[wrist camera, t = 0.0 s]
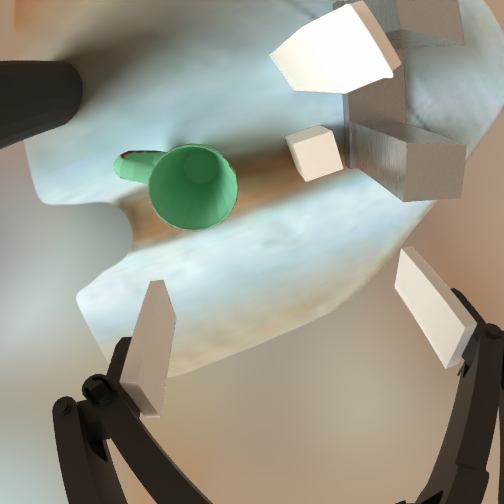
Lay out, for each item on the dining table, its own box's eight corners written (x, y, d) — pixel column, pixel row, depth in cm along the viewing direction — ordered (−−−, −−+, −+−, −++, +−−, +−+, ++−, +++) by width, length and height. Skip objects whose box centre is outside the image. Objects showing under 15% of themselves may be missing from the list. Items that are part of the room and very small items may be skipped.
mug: (246, 143, 39) (250, 160, 30) (224, 208, 43) (223, 241, 35) (142, 116, 36) (116, 125, 27) (127, 182, 40) (102, 209, 32)
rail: (332, 4, 29) (385, -32, 15) (390, 11, 29) (458, -9, 15) (345, 165, 41) (398, 207, 27) (398, 162, 41) (462, 201, 27)
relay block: (284, 136, 39) (293, 144, 34) (318, 124, 38) (332, 131, 33) (296, 169, 41) (306, 181, 36) (329, 157, 41) (343, 168, 35)
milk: (305, 34, 32) (382, -12, 12) (330, 71, 34) (426, 62, 15) (267, 55, 33) (310, 17, 14) (293, 92, 36) (362, 96, 17)
